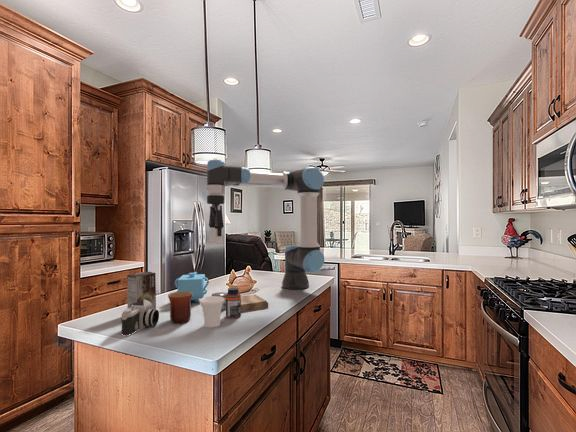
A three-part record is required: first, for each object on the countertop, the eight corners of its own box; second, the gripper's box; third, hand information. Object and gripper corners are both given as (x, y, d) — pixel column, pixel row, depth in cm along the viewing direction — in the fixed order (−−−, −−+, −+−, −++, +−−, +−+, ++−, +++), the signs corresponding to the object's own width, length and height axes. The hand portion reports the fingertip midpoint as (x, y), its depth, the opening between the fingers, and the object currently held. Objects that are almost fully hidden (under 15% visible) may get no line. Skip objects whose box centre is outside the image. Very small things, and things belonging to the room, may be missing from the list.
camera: (142, 337, 102) (142, 306, 103) (116, 337, 103) (116, 306, 103) (163, 321, 118) (163, 294, 118) (141, 321, 119) (140, 294, 119)
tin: (224, 306, 136) (224, 291, 136) (229, 310, 131) (229, 295, 131) (209, 309, 133) (209, 293, 133) (214, 313, 128) (214, 296, 128)
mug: (193, 323, 115) (193, 295, 115) (168, 326, 112) (168, 298, 112) (190, 314, 126) (190, 288, 126) (167, 316, 123) (167, 290, 123)
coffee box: (146, 308, 134) (146, 271, 134) (156, 310, 131) (156, 272, 131) (126, 314, 126) (126, 274, 126) (136, 317, 123) (136, 276, 123)
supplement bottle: (227, 314, 125) (226, 286, 125) (241, 314, 126) (241, 286, 126) (224, 319, 119) (224, 290, 119) (239, 319, 120) (239, 289, 120)
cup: (202, 321, 117) (202, 295, 117) (227, 322, 117) (227, 295, 117) (194, 330, 108) (194, 301, 108) (221, 330, 108) (221, 301, 108)
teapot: (207, 303, 142) (207, 274, 142) (171, 304, 140) (171, 275, 140) (211, 293, 160) (211, 268, 160) (179, 294, 158) (179, 269, 158)
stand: (255, 300, 146) (255, 294, 146) (268, 308, 134) (268, 301, 134) (226, 304, 140) (226, 297, 140) (237, 313, 127) (237, 305, 127)
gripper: (202, 196, 149) (202, 241, 149) (212, 193, 126) (212, 245, 126) (218, 196, 152) (218, 240, 152) (230, 193, 129) (230, 244, 129)
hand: (215, 242), depth 139 cm, fingers open, 13 cm apart
